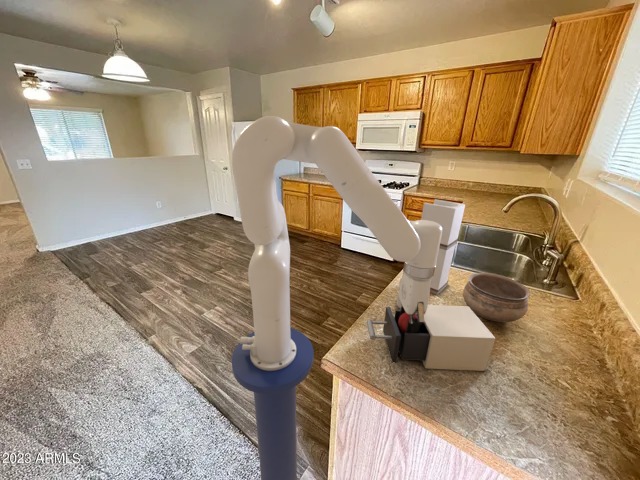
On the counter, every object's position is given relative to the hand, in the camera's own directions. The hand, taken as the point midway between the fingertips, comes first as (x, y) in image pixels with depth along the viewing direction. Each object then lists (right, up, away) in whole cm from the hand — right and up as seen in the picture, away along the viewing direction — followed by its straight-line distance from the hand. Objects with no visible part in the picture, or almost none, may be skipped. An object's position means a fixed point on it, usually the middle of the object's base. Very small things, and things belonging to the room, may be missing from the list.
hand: (408, 325), depth 74 cm
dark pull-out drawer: (-1, -7, +3) cm, 7 cm away
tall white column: (+21, +5, +38) cm, 44 cm away
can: (+7, -1, +23) cm, 24 cm away
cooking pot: (+35, -3, +19) cm, 40 cm away
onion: (0, -3, +1) cm, 3 cm away
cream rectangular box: (+11, -8, +3) cm, 14 cm away
